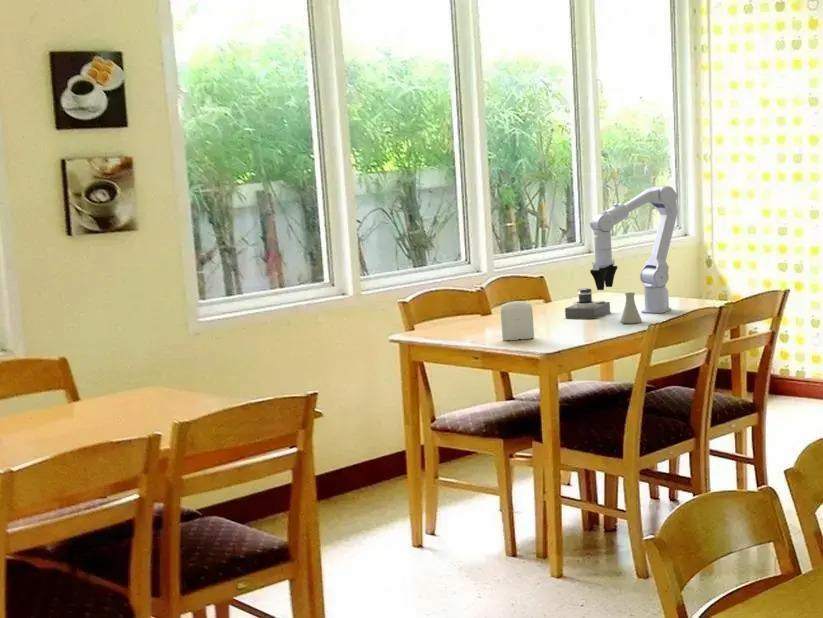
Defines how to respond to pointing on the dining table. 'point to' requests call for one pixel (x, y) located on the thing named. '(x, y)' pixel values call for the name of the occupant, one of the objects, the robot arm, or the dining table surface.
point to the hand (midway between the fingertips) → (604, 288)
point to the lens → (585, 296)
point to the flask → (630, 310)
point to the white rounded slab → (517, 321)
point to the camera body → (587, 310)
